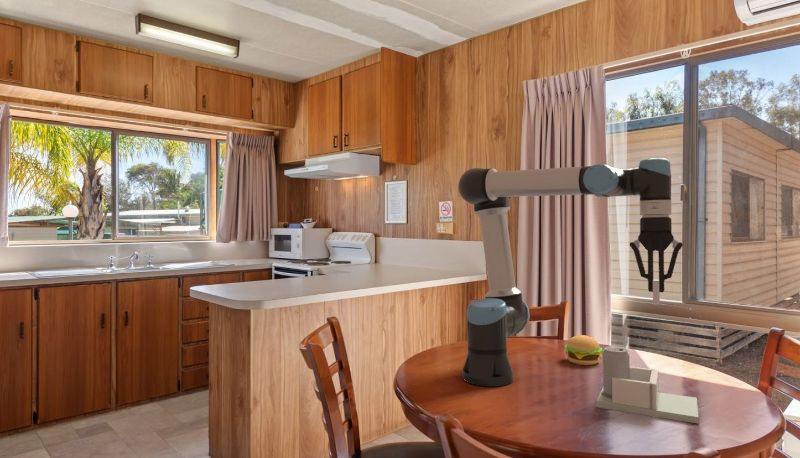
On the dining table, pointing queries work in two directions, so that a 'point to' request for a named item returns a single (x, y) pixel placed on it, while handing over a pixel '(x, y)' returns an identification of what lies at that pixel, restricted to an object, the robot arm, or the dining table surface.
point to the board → (658, 407)
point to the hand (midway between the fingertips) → (656, 304)
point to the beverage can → (615, 366)
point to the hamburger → (583, 350)
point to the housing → (637, 388)
